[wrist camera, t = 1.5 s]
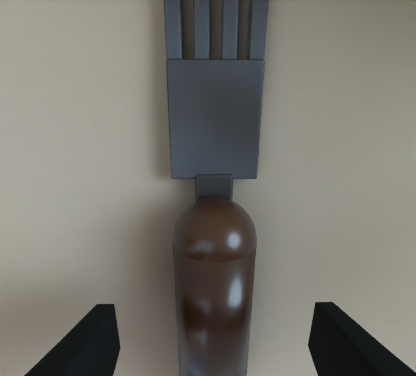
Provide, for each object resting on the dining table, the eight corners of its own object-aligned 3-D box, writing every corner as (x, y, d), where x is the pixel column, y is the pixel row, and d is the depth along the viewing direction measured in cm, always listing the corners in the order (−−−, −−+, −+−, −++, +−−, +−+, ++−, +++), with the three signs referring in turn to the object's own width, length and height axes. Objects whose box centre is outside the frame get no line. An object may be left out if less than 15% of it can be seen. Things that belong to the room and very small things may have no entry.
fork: (240, 379, 13) (251, 454, 10) (181, 379, 13) (175, 455, 10) (272, -130, 7) (322, -308, 4) (160, -132, 7) (129, -313, 4)
